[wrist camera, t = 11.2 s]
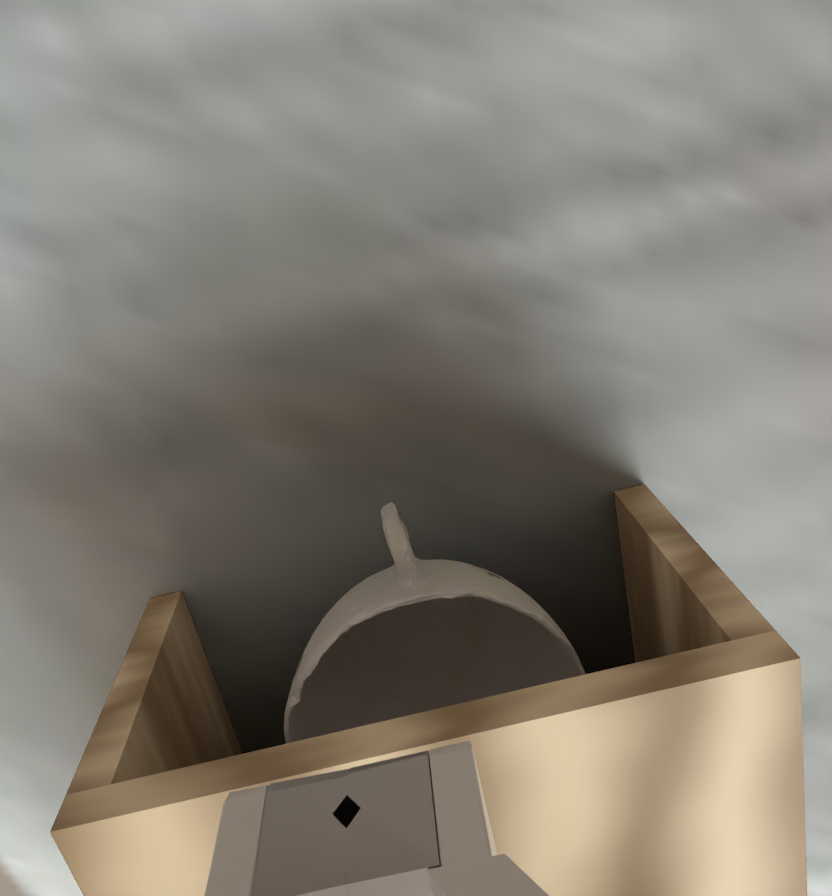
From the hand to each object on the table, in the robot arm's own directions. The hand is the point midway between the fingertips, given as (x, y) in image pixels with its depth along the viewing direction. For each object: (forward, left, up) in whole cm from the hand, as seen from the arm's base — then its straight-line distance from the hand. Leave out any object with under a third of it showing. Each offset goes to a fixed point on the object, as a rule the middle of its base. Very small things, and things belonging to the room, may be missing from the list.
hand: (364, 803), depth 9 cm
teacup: (0, +14, -26) cm, 29 cm away
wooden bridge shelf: (0, +20, -25) cm, 32 cm away
